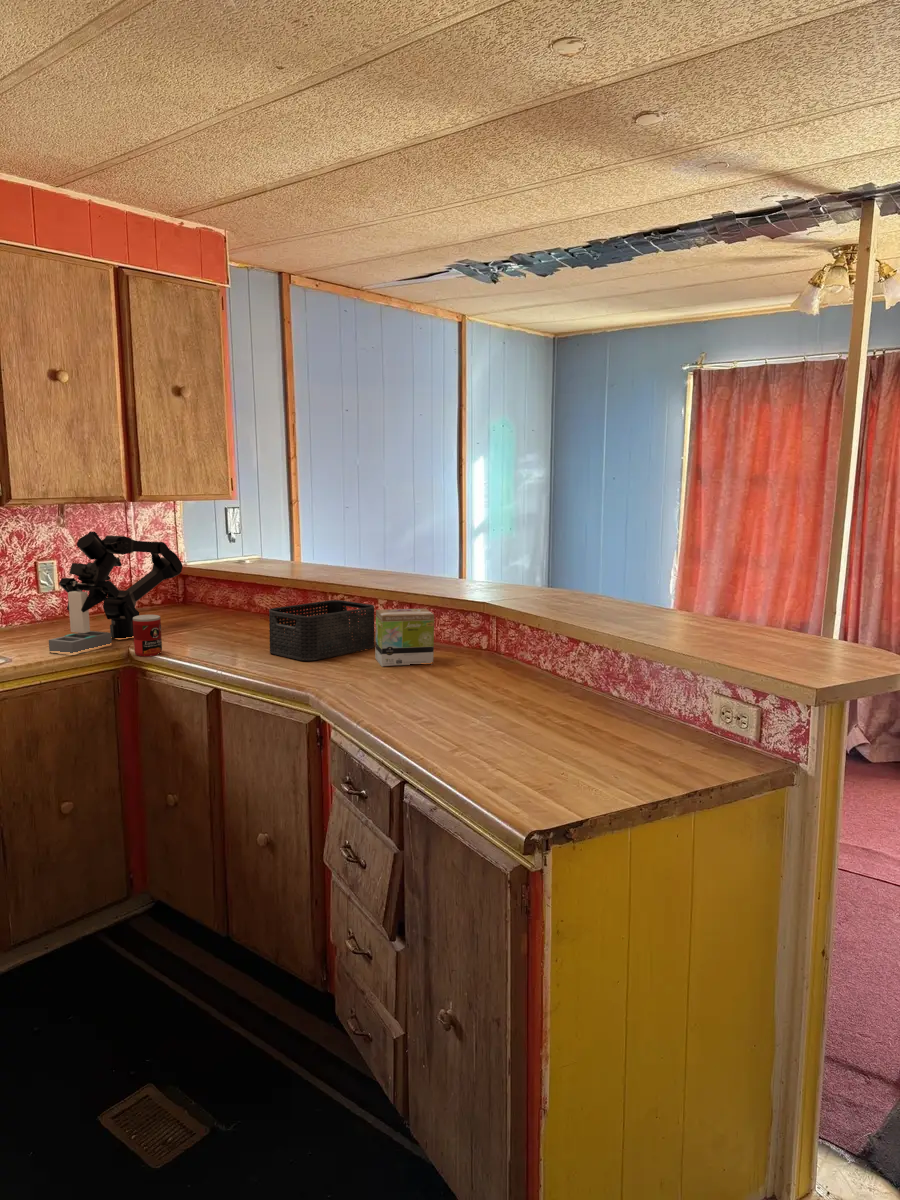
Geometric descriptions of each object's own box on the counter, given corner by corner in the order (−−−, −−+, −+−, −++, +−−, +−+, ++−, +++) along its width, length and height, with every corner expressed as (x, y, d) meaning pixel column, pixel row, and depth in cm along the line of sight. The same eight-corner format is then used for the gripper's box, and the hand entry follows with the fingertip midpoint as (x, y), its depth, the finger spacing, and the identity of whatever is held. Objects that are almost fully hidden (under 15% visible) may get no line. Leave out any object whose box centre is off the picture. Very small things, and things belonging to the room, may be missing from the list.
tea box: (381, 667, 229) (381, 615, 227) (375, 659, 239) (374, 608, 237) (434, 664, 233) (434, 612, 231) (425, 656, 243) (426, 606, 241)
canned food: (144, 658, 239) (142, 620, 237) (128, 654, 244) (126, 617, 242) (167, 653, 245) (166, 616, 243) (152, 649, 250) (150, 613, 248)
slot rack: (89, 643, 258) (88, 629, 257) (111, 645, 255) (111, 632, 254) (49, 653, 244) (48, 639, 243) (72, 655, 241) (71, 641, 240)
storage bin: (336, 639, 268) (336, 597, 265) (379, 647, 255) (379, 604, 253) (264, 654, 246) (263, 609, 244) (308, 664, 234) (307, 617, 232)
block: (77, 630, 250) (74, 590, 248) (90, 631, 249) (87, 591, 247) (70, 631, 248) (67, 592, 246) (83, 633, 246) (80, 593, 244)
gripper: (61, 551, 251) (34, 592, 243) (109, 554, 245) (83, 596, 236) (83, 573, 260) (57, 614, 252) (130, 577, 253) (105, 619, 245)
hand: (75, 610), depth 246 cm, fingers closed on block, 5 cm apart
